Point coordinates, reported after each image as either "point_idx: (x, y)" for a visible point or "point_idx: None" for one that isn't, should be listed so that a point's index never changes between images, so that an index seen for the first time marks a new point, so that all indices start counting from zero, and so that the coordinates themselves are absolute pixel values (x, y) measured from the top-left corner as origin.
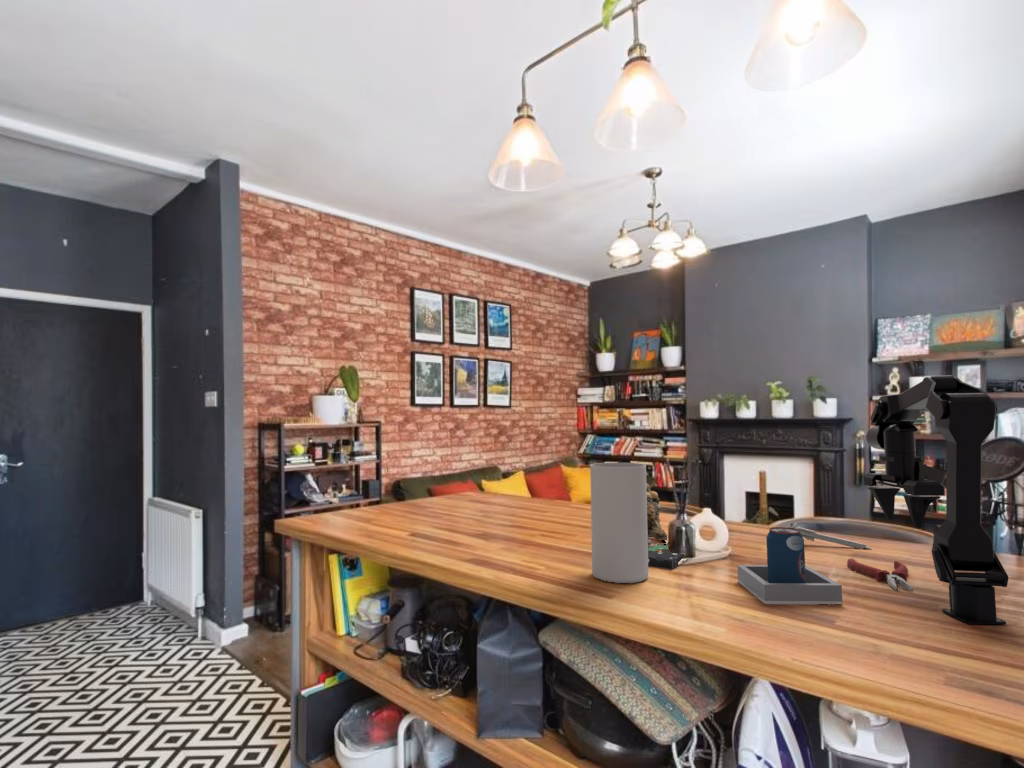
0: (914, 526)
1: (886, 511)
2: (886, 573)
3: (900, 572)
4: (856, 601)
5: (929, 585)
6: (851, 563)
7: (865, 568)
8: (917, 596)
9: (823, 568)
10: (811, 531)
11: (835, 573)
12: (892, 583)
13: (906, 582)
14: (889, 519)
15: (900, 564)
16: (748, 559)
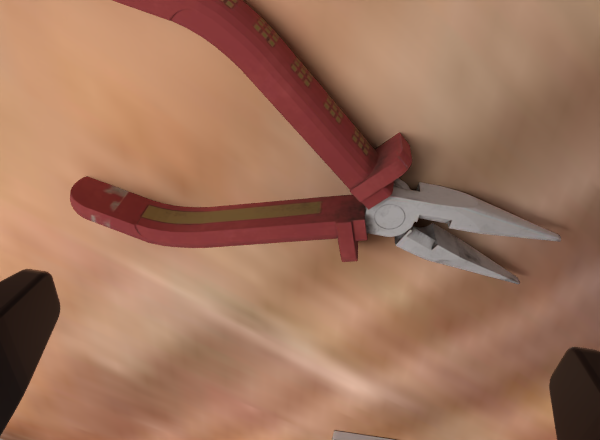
0: (550, 390)
1: (4, 408)
2: (366, 231)
3: (386, 178)
4: (549, 426)
5: (472, 49)
6: (155, 243)
7: (250, 243)
8: (593, 240)
9: (151, 304)
10: None
11: (227, 308)
12: (474, 272)
13: (493, 221)
14: (59, 303)
15: (190, 26)
16: (61, 427)
